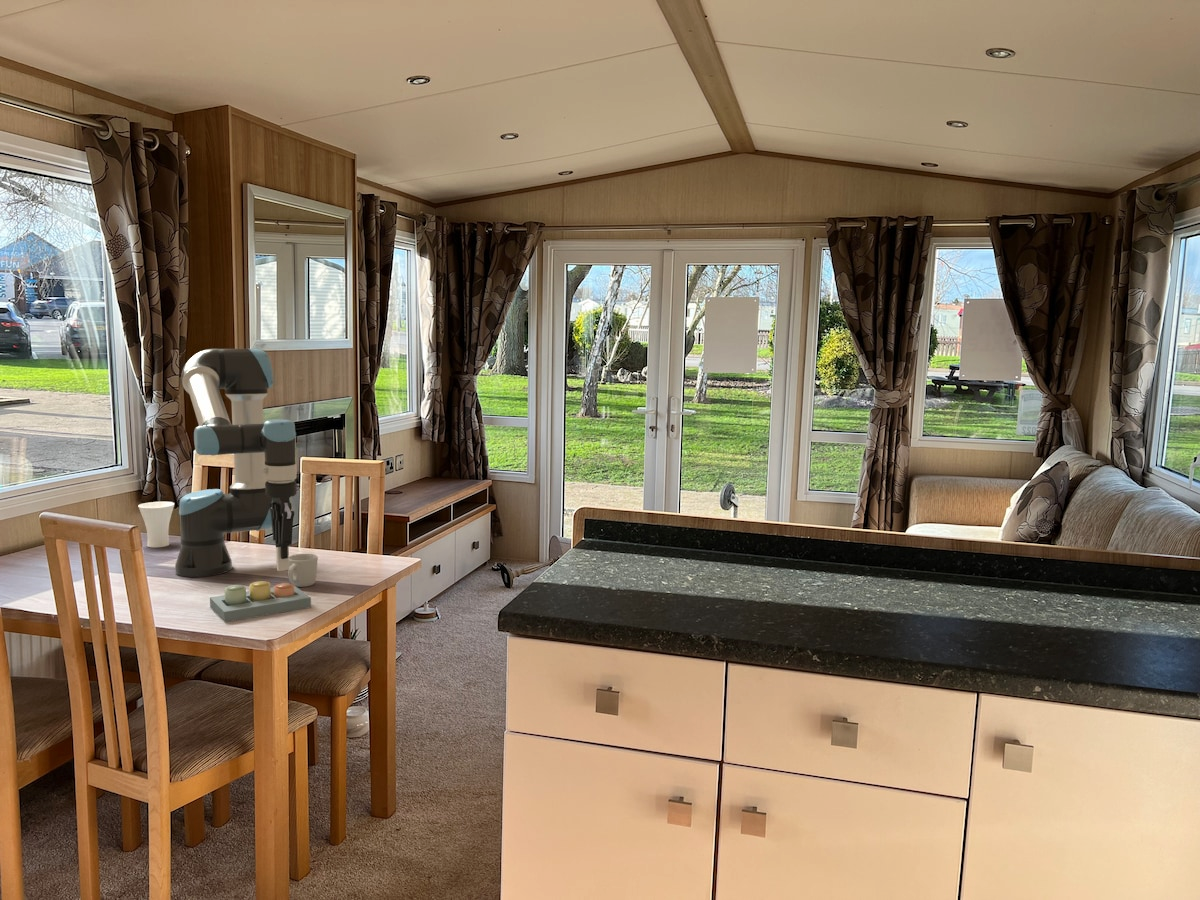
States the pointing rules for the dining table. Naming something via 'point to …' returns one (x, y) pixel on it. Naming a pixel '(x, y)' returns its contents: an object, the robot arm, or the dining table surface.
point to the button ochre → (260, 591)
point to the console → (259, 606)
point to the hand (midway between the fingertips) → (282, 569)
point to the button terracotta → (283, 590)
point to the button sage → (235, 595)
